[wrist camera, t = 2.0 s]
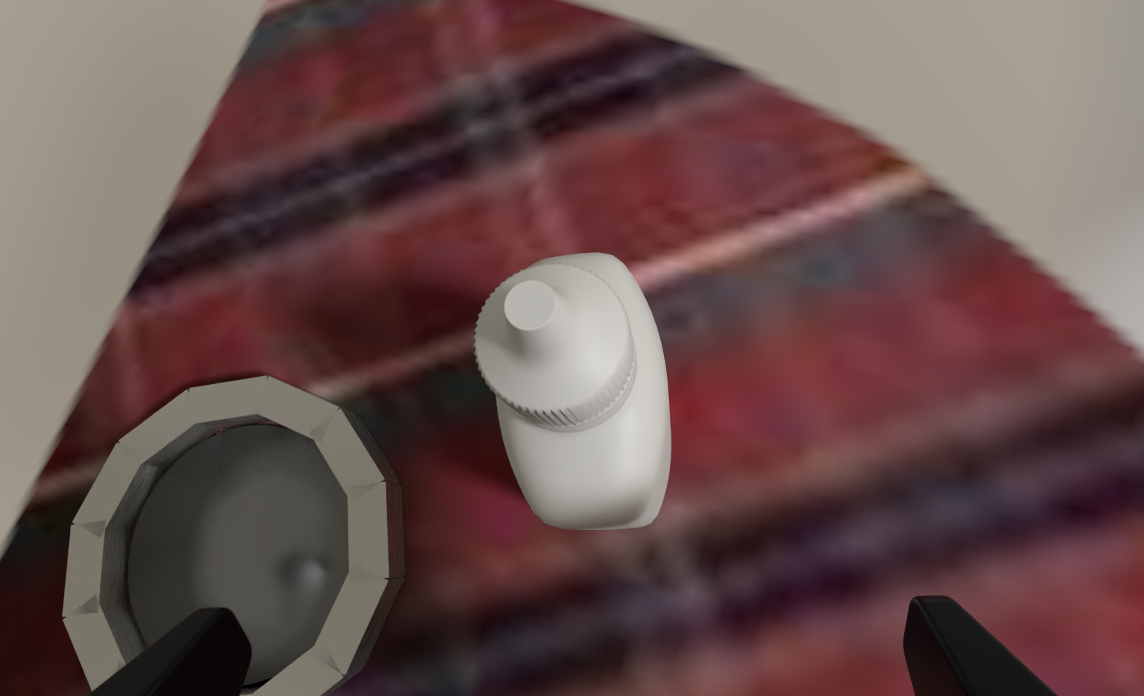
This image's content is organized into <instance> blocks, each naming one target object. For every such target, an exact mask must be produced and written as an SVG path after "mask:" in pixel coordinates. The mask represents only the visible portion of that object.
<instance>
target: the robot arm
mask: <svg viewBox="0 0 1144 696" xmlns="http://www.w3.org/2000/svg"><path fill="white" fill-rule="evenodd" d="M903 648H904V655H905V659H906V663H907V667H908V671H909V674H910V678H911V682H912V685H913V689H914V693H915V696H1058V695H1057V694H1056V693H1055V692H1054V691H1052V690H1051V689H1050V688H1049V687H1048V686H1047V685H1046V684H1045V683H1044V682H1043V681H1042V680H1040V679H1039V678H1038V677H1037V676H1036V675H1035V674H1034V673H1033V672H1032V671H1031V670H1030V669H1029V668H1027V667H1026V666H1025V665H1024V664H1023V663H1022V662H1021V661H1020V660H1019V659H1018V658H1017V657H1015V656H1014V655H1013V654H1012V653H1011V652H1010V651H1009V650H1008V649H1007V648H1006V647H1005V646H1004V645H1002V644H1001V643H1000V642H999V641H998V640H997V639H996V638H995V637H994V636H993V635H992V634H990V633H989V632H988V631H987V630H986V629H985V628H984V627H983V626H982V625H981V624H980V623H979V622H977V621H976V620H975V619H974V618H973V617H972V616H971V615H970V614H969V613H968V612H967V611H965V610H964V609H963V608H962V607H961V606H960V605H959V604H958V603H957V602H956V601H954V600H953V599H951V598H949V597H947V596H915V597H914V598H913V599H912V600H911V602H910V605H909V610H908V616H907V621H906V627H905V632H904V638H903ZM251 658H252V646H251V643H250V641H249V639H248V637H247V635H246V634H245V632H244V630H243V628H242V627H241V625H240V623H239V621H238V619H237V618H236V616H235V614H234V613H233V611H232V610H230V609H229V608H226V607H206V608H201V609H198V610H196V611H194V612H193V613H191V614H190V615H189V616H187V617H186V618H185V619H184V620H182V621H181V622H180V623H178V624H177V625H176V626H175V627H173V628H172V629H171V630H169V631H168V632H167V633H166V634H164V635H163V636H162V637H161V638H159V639H158V640H157V641H155V642H154V643H153V644H152V645H150V646H149V647H148V648H146V649H145V650H144V651H143V652H141V653H140V654H139V655H138V656H136V657H135V658H134V659H132V660H131V661H130V662H129V663H127V664H126V665H125V666H123V667H122V668H121V669H120V670H118V671H117V672H116V673H115V674H113V675H112V676H111V677H109V678H108V679H107V680H106V681H104V682H103V683H102V684H101V685H99V686H98V687H97V688H95V689H94V690H93V691H92V692H90V693H89V694H88V695H86V696H240V693H241V690H242V687H243V684H244V681H245V678H246V675H247V672H248V669H249V666H250V663H251Z"/></svg>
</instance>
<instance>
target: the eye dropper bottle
mask: <svg viewBox="0 0 1144 696" xmlns="http://www.w3.org/2000/svg"><path fill="white" fill-rule="evenodd" d="M485 302H486V304H485V305H484V306H483V307H482V312H481V313H480V314H479V315H478V316H479V319H478V321H477V322H476V324H477V325H478V326H477V327H476V328H475V330H474V331H475V332H476V334H475V336H474V338H473V339H474V340H476V341H475V343H474V345H473V347H475V348H476V350H475V352H474V355H476V356H477V358H476V361H475V362H476V363H478V364H479V366H478V370H480V371H481V372H482V373H481V377H483V378H484V379H485V383H486V384H487V385H488V386H490V390H491V391H493V392H494V393H495V395H496V403H497V410H498V418H499V423H500V428H501V433H502V438H503V441H504V445H505V449H506V452H507V455H508V458H509V461H510V464H511V467H512V469H513V472H514V474H515V477H516V479H517V482H518V484H519V486H520V488H521V490H522V492H523V495H524V497H525V499H526V500H527V502H528V504H529V505H530V507H531V509H532V510H533V512H534V513H535V514H536V515H537V516H538V517H539V518H540V519H541V520H542V521H543V522H544V523H545V524H547V525H551V526H554V527H558V528H563V529H576V530H608V529H624V528H636V527H643V526H645V525H648V524H650V523H652V521H653V520H654V519H655V518H656V516H657V515H658V513H659V510H660V508H661V505H662V502H663V498H664V495H665V491H666V487H667V482H668V476H669V470H670V461H671V429H670V412H669V397H668V383H667V374H666V366H665V360H664V355H663V350H662V345H661V341H660V337H659V334H658V330H657V327H656V324H655V321H654V318H653V315H652V313H651V310H650V308H649V306H648V303H647V301H646V299H645V297H644V295H643V293H642V291H641V289H640V287H639V286H638V284H637V282H636V281H635V279H634V277H633V276H632V274H631V273H630V271H629V270H628V269H627V267H626V266H625V265H624V264H623V263H622V262H621V261H620V260H618V259H617V258H616V257H614V256H612V255H609V254H604V253H581V254H572V255H564V256H557V257H552V258H546V259H543V260H541V261H538V262H536V263H534V264H532V265H531V266H530V267H528V268H527V269H526V270H521V271H520V272H519V273H514V274H513V276H512V277H508V278H507V279H506V281H505V282H501V284H500V286H499V287H497V288H495V292H493V293H491V294H490V298H489V299H487V300H486V301H485Z"/></svg>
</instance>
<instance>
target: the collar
mask: <svg viewBox="0 0 1144 696" xmlns="http://www.w3.org/2000/svg"><path fill="white" fill-rule="evenodd" d="M269 421H274V422H277V423H279V424H281V425H283V426H285V427H287V428H290V429H292V430H290V429H286V428H281V427H277V426H270V425H251V426H243V425H250V424H256V423H263V422H269ZM236 426H242V427H238V428H233V429H229V430H226V431H224V432H221V433H218V434H216V435H214V436H212V435H213V434H215V433H216V432H217V431H219V430H220V429H223V428H230V427H236ZM293 430H294V431H293ZM211 436H212V437H211ZM209 437H210V438H209ZM169 467H170V468H169ZM168 468H169V469H168ZM400 482H401V481H400V480H399V478H398V477H397V475H396V473H395V472H394V470H393V469H392V467H391V465H390V464H389V462H388V461H387V459H386V458H385V456H384V454H383V453H382V451H381V450H380V448H379V447H378V445H377V443H376V442H375V440H374V439H373V437H372V436H371V434H370V432H369V431H368V429H367V428H366V426H365V424H364V423H363V421H362V420H361V418H360V417H359V415H357V413H355V412H352V411H350V410H348V409H346V408H343V407H341V406H339V405H337V404H334V403H332V402H330V401H327V400H325V399H323V398H321V397H318V396H316V395H314V394H312V393H309V392H307V391H305V390H303V389H300V388H298V387H296V386H294V385H291V384H289V383H286V382H283V381H281V380H278V379H276V378H273V377H270V376H261V377H255V378H249V379H243V380H237V381H230V382H224V383H218V384H212V385H205V386H199V387H193V388H189V390H188V389H187V390H185V391H184V392H183V393H181V394H180V395H179V396H177V397H176V398H175V399H173V400H172V401H171V402H169V403H168V404H167V405H165V406H164V407H163V408H161V409H160V410H159V411H157V412H156V413H155V414H153V415H152V416H151V417H149V418H148V419H147V420H145V421H144V422H143V423H141V424H140V425H139V426H137V427H136V428H135V429H133V430H132V431H131V432H129V433H128V434H127V435H125V436H124V437H123V438H121V439H120V440H119V443H116V445H115V447H114V448H113V450H112V452H111V454H110V456H109V457H108V459H107V461H106V463H105V464H104V466H103V468H102V470H101V472H100V473H99V475H98V477H97V479H96V481H95V482H94V484H93V486H92V488H91V489H90V491H89V493H88V495H87V497H86V498H85V500H84V502H83V504H82V506H81V507H80V509H79V511H78V513H77V514H76V516H75V518H74V520H73V523H74V524H75V525H71V532H70V542H69V552H68V563H67V573H66V583H65V594H64V604H63V614H62V617H65V616H67V617H66V618H64V619H63V622H64V624H65V626H66V629H67V631H68V634H69V636H70V639H71V641H72V643H73V646H74V648H75V651H76V653H77V656H78V658H79V661H80V663H81V665H82V668H83V670H84V673H85V675H86V678H87V680H88V683H89V685H90V687H91V690H92V691H93V690H94V689H95V688H97V687H98V686H99V685H101V684H102V683H103V682H104V681H106V680H107V679H108V678H109V677H111V676H112V675H113V674H115V673H116V672H117V671H118V670H120V669H121V668H122V667H123V666H125V665H126V664H127V663H129V662H130V661H131V660H132V659H134V658H135V657H136V656H138V655H139V654H140V653H141V652H143V651H144V650H145V649H146V648H148V647H149V646H150V645H152V644H153V643H154V642H155V641H157V640H158V639H159V638H161V637H162V636H163V635H164V634H166V633H167V632H168V631H169V630H171V629H172V628H173V627H175V626H176V625H177V624H178V623H180V622H181V621H182V620H184V619H185V618H186V617H187V616H189V615H190V614H191V613H193V612H194V611H196V610H198V609H201V608H206V607H226V608H229V609H230V610H232V611H233V613H234V614H235V616H236V618H237V619H238V621H239V623H240V625H241V627H242V628H243V630H244V632H245V634H246V635H247V637H248V639H249V641H250V643H251V646H252V658H251V663H250V666H249V669H248V672H247V675H246V678H245V681H244V684H243V685H248V684H253V683H257V682H260V681H262V680H265V679H268V678H271V677H273V678H272V679H271V680H270V681H268V682H267V683H266V684H264V685H263V686H256V687H246V688H242V690H241V693H240V696H329V695H330V694H332V693H333V692H334V691H335V690H337V689H338V688H339V687H341V686H342V685H343V684H344V683H346V682H347V681H348V680H349V679H351V678H352V677H353V676H355V675H356V674H357V673H358V672H360V671H361V670H362V669H363V667H365V665H366V663H367V661H368V658H369V656H370V654H371V652H372V649H373V647H374V645H375V643H376V641H377V638H378V636H379V634H380V632H381V630H382V627H383V625H384V623H385V621H386V619H387V616H388V614H389V612H390V610H391V607H392V605H393V603H394V601H395V599H396V596H397V594H398V592H399V590H400V588H401V585H402V583H403V581H404V579H405V578H404V577H402V575H406V572H405V548H404V525H403V501H402V484H399V483H400ZM274 676H275V677H274Z"/></svg>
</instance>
